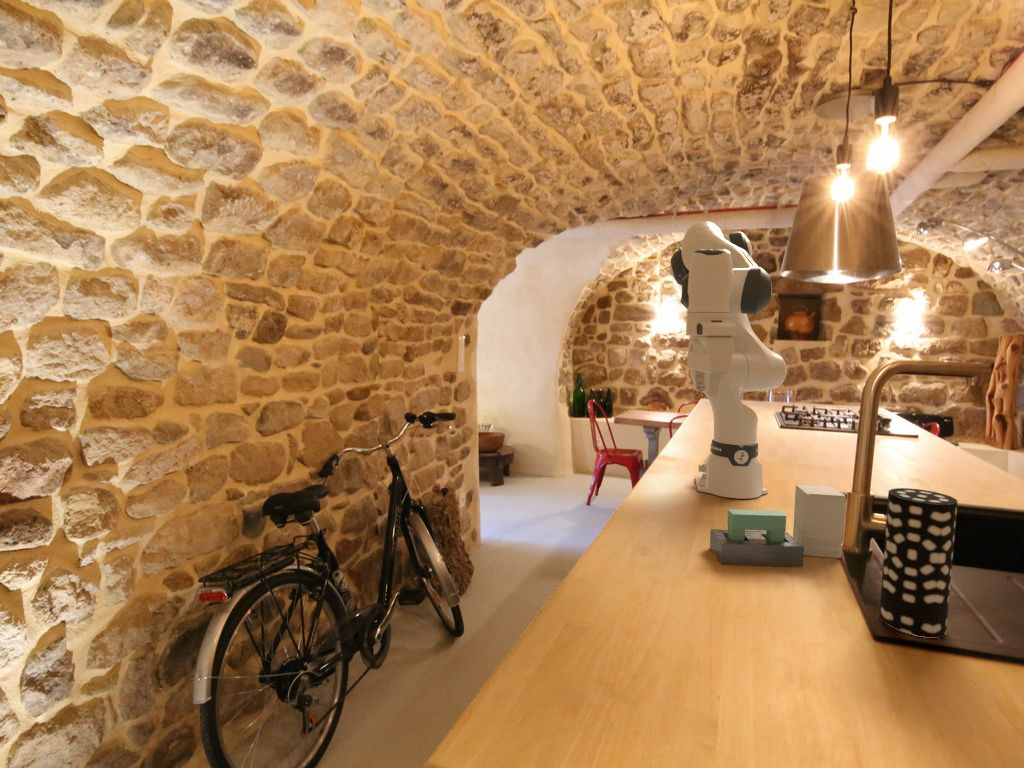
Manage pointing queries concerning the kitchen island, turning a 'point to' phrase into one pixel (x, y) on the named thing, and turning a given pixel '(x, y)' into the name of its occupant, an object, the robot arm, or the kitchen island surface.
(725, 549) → the gray socket base
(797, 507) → the supplement box
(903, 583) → the white-spotted black cylinder
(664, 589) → the kitchen island surface
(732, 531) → the green u-shaped block
